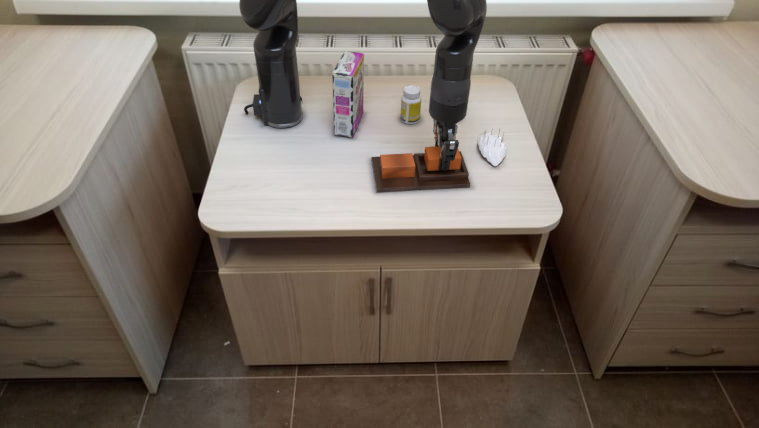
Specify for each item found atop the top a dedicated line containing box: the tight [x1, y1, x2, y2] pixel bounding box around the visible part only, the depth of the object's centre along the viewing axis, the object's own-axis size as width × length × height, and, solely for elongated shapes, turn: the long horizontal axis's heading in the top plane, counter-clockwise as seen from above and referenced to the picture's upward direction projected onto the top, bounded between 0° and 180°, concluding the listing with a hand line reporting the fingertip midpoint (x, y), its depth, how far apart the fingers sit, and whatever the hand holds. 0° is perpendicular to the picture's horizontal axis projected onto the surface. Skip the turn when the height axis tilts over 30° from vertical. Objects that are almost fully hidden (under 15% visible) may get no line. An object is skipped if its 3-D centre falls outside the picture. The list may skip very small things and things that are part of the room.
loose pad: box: [424, 146, 461, 171], centre depth 116 cm, size 7×4×3 cm, turn 96°
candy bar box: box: [331, 50, 365, 139], centre depth 126 cm, size 11×5×16 cm, turn 168°
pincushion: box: [477, 128, 507, 167], centre depth 123 cm, size 12×6×6 cm, turn 1°
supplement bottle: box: [400, 84, 422, 125], centre depth 131 cm, size 5×5×8 cm
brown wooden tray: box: [371, 150, 471, 194], centre depth 117 cm, size 20×11×4 cm, turn 96°
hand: (441, 162), depth 117 cm, fingers closed on loose pad, 4 cm apart
